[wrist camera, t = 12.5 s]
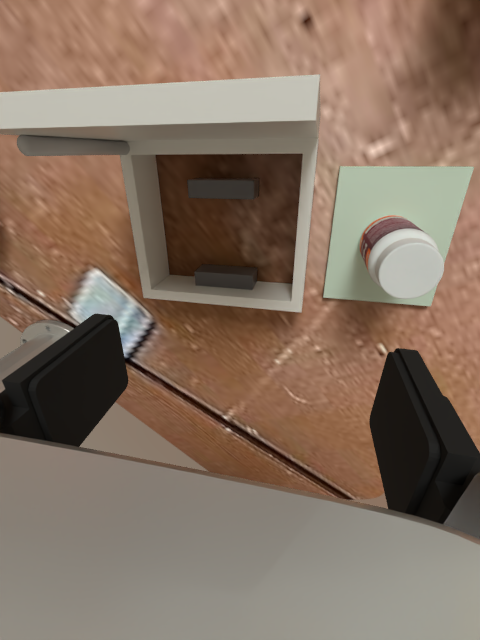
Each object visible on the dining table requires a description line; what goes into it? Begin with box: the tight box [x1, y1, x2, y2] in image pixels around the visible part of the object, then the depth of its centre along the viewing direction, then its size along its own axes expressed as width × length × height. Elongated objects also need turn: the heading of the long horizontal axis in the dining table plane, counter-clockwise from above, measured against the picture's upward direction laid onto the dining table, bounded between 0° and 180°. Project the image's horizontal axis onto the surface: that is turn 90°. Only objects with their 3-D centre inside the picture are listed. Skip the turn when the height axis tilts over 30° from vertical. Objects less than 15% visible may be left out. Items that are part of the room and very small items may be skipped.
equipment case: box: [0, 75, 320, 312], centre depth 23 cm, size 15×16×18 cm
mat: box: [323, 166, 474, 306], centre depth 28 cm, size 12×10×1 cm
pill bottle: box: [359, 215, 444, 299], centre depth 24 cm, size 5×5×8 cm
